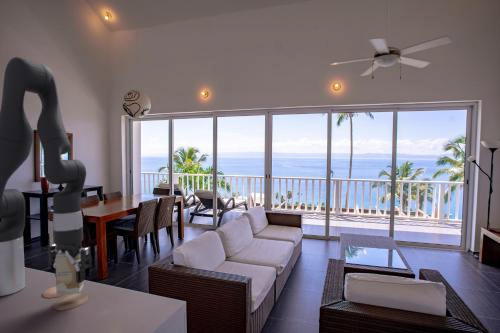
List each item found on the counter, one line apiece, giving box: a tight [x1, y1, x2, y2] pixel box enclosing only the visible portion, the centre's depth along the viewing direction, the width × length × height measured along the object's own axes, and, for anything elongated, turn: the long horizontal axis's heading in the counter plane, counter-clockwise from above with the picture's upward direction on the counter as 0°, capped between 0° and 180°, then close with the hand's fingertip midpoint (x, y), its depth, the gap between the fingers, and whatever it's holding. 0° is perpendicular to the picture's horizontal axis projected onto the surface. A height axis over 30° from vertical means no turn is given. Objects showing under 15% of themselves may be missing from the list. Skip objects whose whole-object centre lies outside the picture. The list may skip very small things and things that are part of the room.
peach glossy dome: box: [42, 285, 66, 299], centre depth 94 cm, size 8×8×1 cm
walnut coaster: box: [52, 292, 89, 311], centre depth 87 cm, size 9×9×1 cm
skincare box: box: [55, 252, 84, 296], centre depth 87 cm, size 6×4×12 cm
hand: (70, 280), depth 87 cm, fingers closed on skincare box, 7 cm apart
